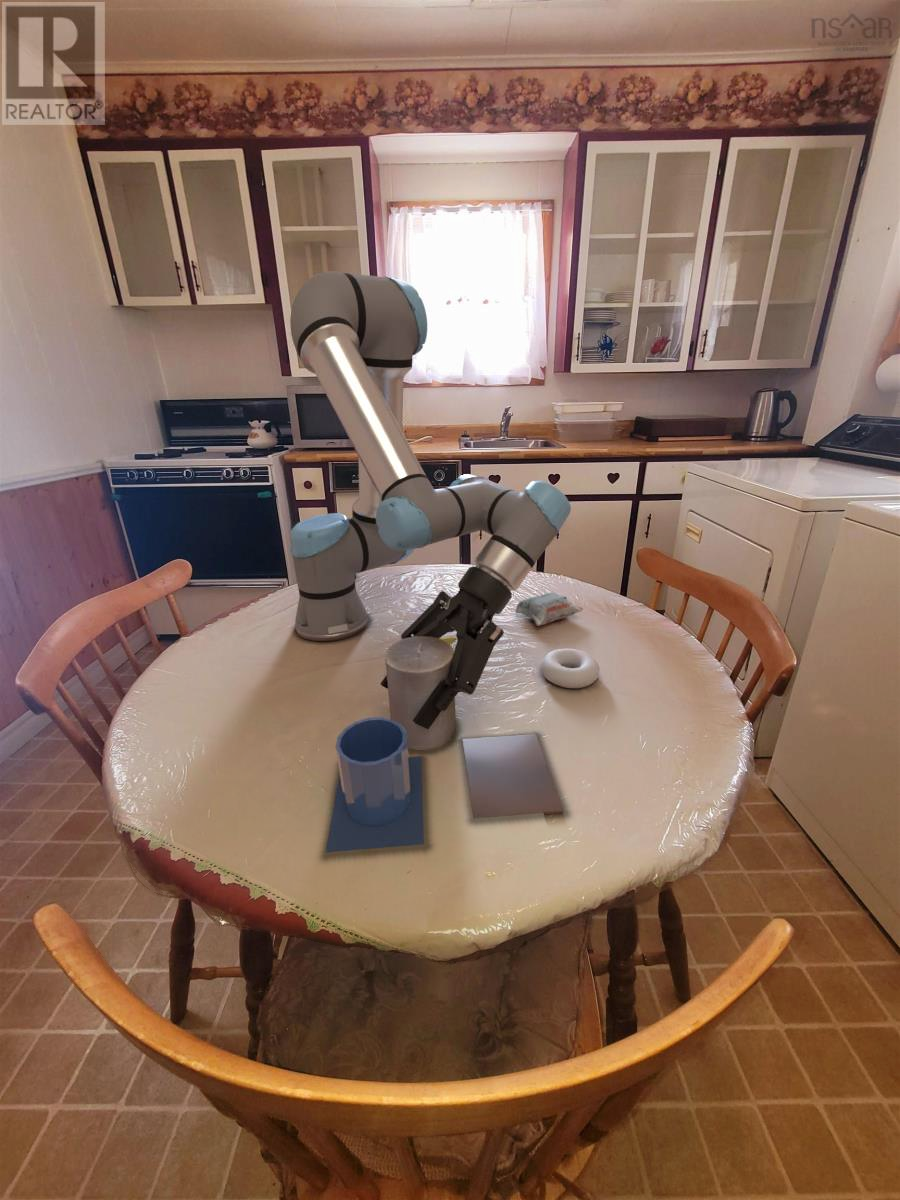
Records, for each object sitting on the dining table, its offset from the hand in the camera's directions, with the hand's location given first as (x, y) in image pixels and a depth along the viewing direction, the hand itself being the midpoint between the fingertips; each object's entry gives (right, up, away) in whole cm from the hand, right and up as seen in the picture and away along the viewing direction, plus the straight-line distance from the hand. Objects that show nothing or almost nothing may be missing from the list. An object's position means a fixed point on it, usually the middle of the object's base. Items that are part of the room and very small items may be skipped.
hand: (403, 705), depth 69 cm
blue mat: (-2, -10, -8) cm, 13 cm away
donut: (+28, +2, +16) cm, 32 cm away
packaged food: (+28, +11, +36) cm, 47 cm away
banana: (+4, +6, +27) cm, 28 cm away
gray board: (+14, -8, -5) cm, 17 cm away
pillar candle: (+3, -5, +4) cm, 7 cm away
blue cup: (-2, -10, -8) cm, 13 cm away
